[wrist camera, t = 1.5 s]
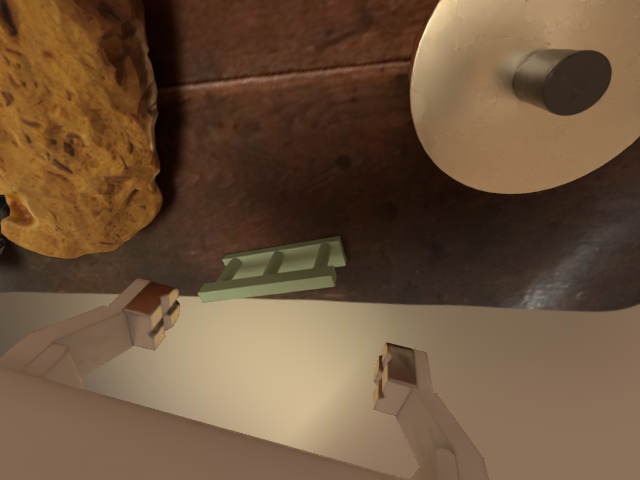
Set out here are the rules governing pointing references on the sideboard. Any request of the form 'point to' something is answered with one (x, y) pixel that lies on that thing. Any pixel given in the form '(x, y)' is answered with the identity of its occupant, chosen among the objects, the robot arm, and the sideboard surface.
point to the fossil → (76, 125)
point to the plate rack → (277, 270)
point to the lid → (526, 89)
